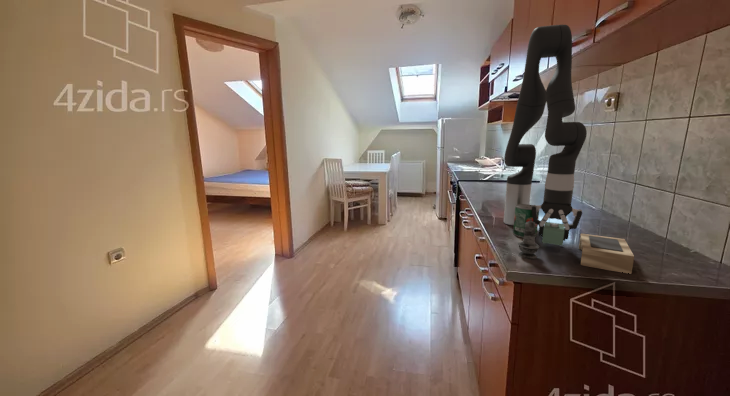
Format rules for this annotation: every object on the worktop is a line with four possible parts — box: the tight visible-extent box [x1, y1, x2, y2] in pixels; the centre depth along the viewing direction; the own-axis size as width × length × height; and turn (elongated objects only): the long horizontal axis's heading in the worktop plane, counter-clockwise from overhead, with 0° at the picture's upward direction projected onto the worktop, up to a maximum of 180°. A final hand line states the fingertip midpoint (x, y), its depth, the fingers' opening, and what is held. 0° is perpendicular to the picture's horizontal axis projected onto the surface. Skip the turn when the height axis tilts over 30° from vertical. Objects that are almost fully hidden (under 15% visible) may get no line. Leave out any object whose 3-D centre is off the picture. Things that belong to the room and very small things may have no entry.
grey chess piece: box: [517, 219, 540, 260], centre depth 92 cm, size 6×6×12 cm
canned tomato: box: [512, 204, 540, 239], centre depth 111 cm, size 8×8×11 cm
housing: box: [541, 221, 565, 247], centre depth 97 cm, size 9×6×5 cm, turn 147°
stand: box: [578, 233, 635, 275], centre depth 89 cm, size 16×11×5 cm
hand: (552, 238), depth 97 cm, fingers closed on housing, 5 cm apart
